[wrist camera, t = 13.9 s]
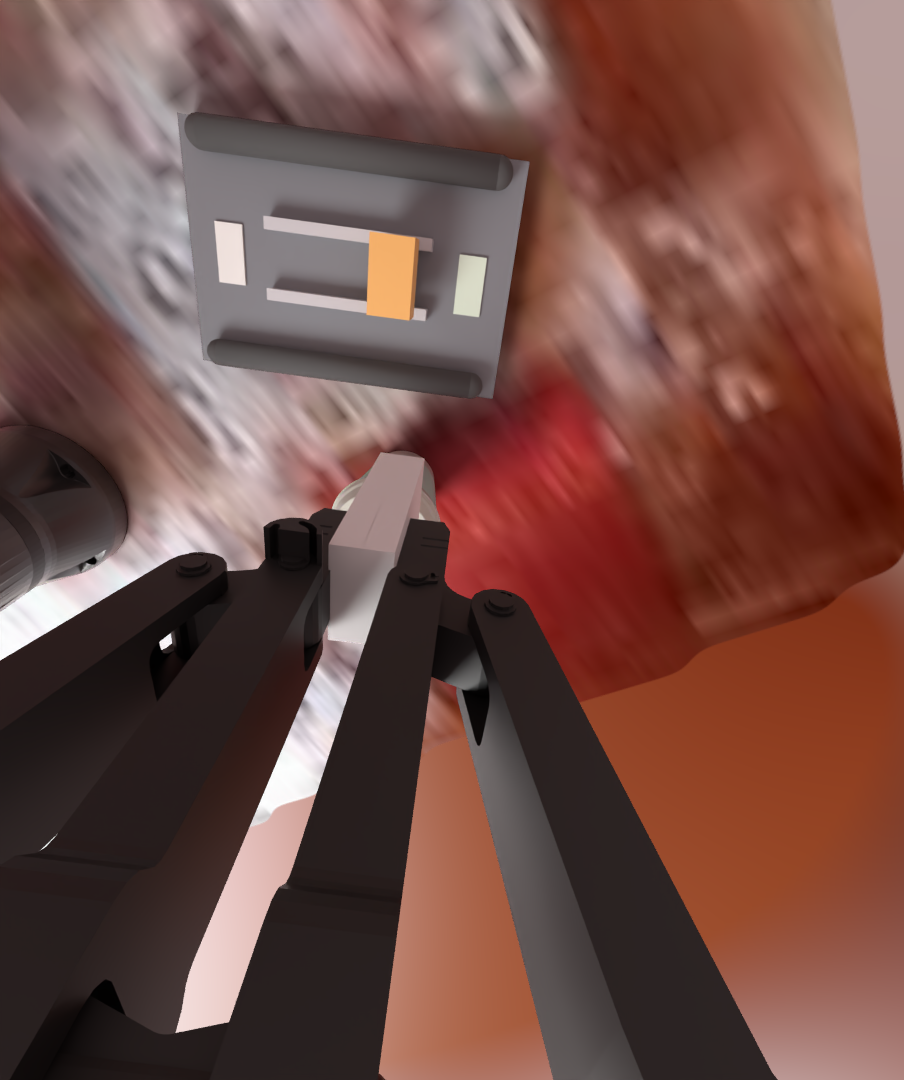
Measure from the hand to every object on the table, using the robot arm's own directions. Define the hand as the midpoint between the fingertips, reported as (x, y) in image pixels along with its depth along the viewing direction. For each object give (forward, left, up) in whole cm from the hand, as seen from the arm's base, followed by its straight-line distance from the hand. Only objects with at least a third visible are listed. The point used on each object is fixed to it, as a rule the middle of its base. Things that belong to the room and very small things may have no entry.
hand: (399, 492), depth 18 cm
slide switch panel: (-8, +6, -28) cm, 30 cm away
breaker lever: (-4, +6, -26) cm, 27 cm away
